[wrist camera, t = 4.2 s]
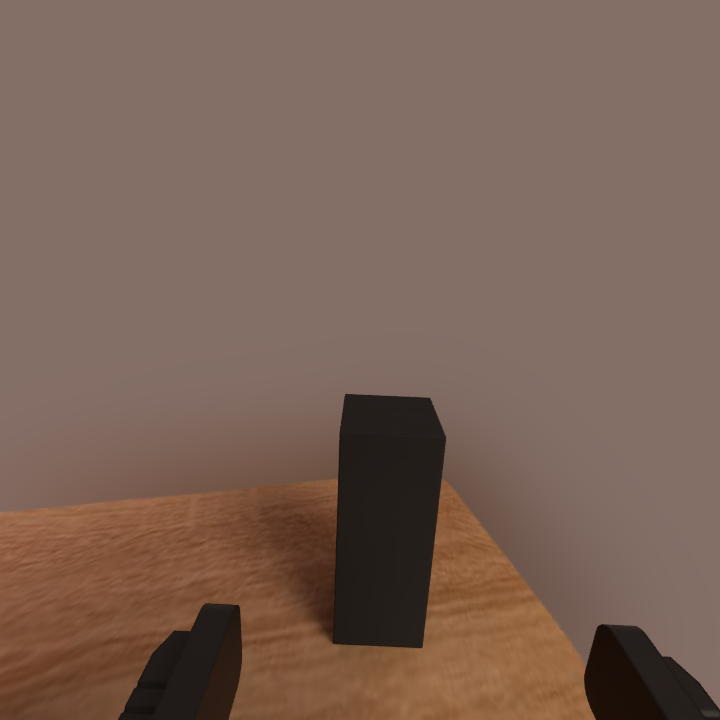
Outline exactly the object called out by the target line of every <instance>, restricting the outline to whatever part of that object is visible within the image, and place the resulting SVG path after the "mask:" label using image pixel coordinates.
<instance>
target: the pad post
mask: <svg viewBox="0 0 720 720" xmlns="http://www.w3.org/2000/svg"><path fill="white" fill-rule="evenodd" d="M445 443H446V436H445V434H444V431H443V429H442V426H441V424H440V421H439V419H438V416H437V414H436V411H435V410H434V406H433V404H432V401H431V399H430V398H421V397H398V396H377V395H375V396H374V395H355V394H346V395H345V399H344V406H343V413H342V421H341V428H340V440H339V472H338V473H339V474H338V504H337V536H336V568H335V600H334V632H333V643H334V644H347V645H369V646H391V647H412V648H422V646H423V638H424V629H425V620H426V611H427V602H428V594H429V585H430V576H431V567H432V558H433V549H434V541H435V532H436V523H437V514H438V505H439V496H440V488H441V479H442V470H443V461H444V452H445Z"/></svg>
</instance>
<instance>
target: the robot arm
mask: <svg viewBox="0 0 720 720" xmlns="http://www.w3.org/2000/svg"><path fill="white" fill-rule="evenodd" d="M241 665H242V640H241V618H240V607H239V605H231V604H211V603H205V604H204V605H203V606H202V608H201V610H200V612H199V614H198V616H197V618H196V620H195V623H194V625H193V627H192V629H191V631H173V632H172V634H171V635H170V636H169V637H168V638H167V639H166V640H165V641H164V642H163V643H162V644H161V645H160V646H159V647H158V648H157V649H156V650H155V651H154V652H153V653H152V655H151V657H150V659H149V661H148V663H147V665H146V667H145V669H144V671H143V673H142V675H141V676H140V678H139V680H138V684H137V687H136V688H134V690H133V692H132V694H131V696H130V698H129V700H128V701H127V703H126V705H125V709H124V712H123V713H121V715H120V717H119V719H118V720H228V719H229V715H230V712H231V708H232V705H233V702H234V698H235V695H236V691H237V687H238V683H239V678H240V672H241ZM584 684H585V691H586V696H587V699H588V702H589V705H590V708H591V710H592V712H593V714H594V716H595V719H596V720H720V710H719V708H718V707H717V706H716V704H715V703H714V702H713V700H712V699H711V698H710V696H709V695H708V694H707V692H706V691H705V690H704V688H703V687H702V686H701V684H700V683H699V682H698V681H697V680H696V679H695V678H693V677H692V676H691V675H690V674H689V673H688V672H687V671H686V670H684V669H683V668H682V667H681V666H680V665H679V664H678V663H676V662H675V661H674V660H673V659H672V658H671V657H663V656H661V654H660V653H659V652H658V650H657V649H656V647H655V646H654V645H653V643H652V642H651V640H650V639H649V638H648V636H647V635H646V634H645V632H643V630H641V629H640V628H638V627H637V626H624V625H604V624H602V625H599V626H598V627H597V630H596V633H595V636H594V640H593V644H592V648H591V652H590V655H589V659H588V663H587V666H586V670H585V675H584Z"/></svg>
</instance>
